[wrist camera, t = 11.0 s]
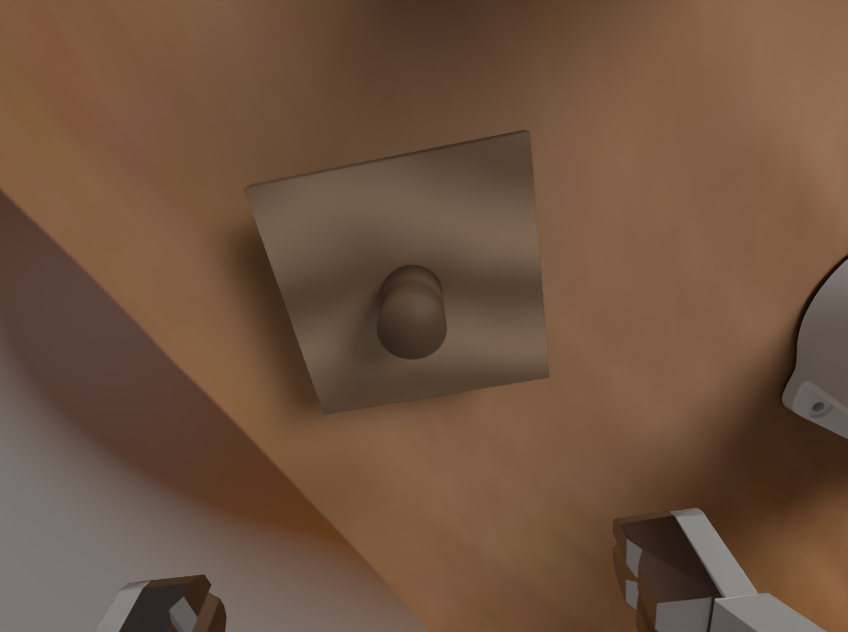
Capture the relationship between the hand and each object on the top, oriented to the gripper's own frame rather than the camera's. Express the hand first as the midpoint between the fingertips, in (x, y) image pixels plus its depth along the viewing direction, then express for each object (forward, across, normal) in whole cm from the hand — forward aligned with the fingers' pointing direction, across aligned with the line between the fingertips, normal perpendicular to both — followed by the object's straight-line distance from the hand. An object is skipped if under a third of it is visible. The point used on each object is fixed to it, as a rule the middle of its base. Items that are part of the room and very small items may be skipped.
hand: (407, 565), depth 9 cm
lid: (+16, 0, +1) cm, 16 cm away
